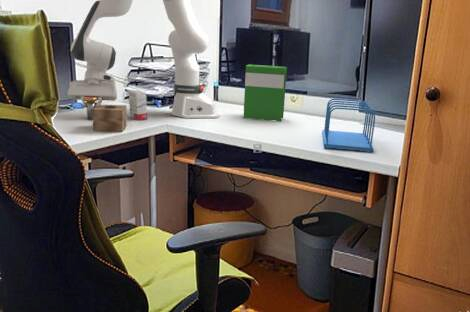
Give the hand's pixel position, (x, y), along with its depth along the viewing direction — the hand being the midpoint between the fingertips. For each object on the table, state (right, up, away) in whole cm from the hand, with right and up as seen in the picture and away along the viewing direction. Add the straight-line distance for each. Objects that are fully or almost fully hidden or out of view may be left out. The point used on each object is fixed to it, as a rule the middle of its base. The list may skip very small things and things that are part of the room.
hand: (90, 106), depth 200 cm
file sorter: (+103, -16, -18) cm, 106 cm away
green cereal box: (+74, -3, +22) cm, 78 cm away
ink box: (+18, -4, +9) cm, 21 cm away
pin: (0, -5, +2) cm, 5 cm away
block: (+12, -10, -13) cm, 20 cm away
